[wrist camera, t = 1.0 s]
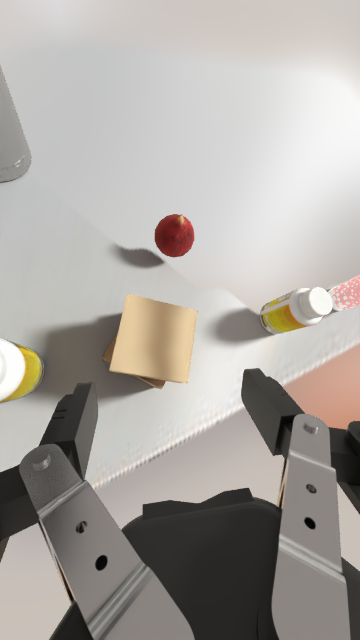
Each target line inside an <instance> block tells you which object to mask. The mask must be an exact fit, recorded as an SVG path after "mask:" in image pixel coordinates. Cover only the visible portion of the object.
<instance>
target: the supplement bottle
mask: <svg viewBox="0 0 360 640" xmlns="http://www.w3.org/2000/svg"><path fill="white" fill-rule="evenodd" d="M331 310H332V299H331V297H330V295H329V293H328V292H327V291H326V290H324V289H322V288H319V287H316V288H312V289H308V288H299V289H296V290H294V291H292V292H290V293H288V294H286V295H284V296H282V297H280V298H277V299H276V300H273V301H271V302H269V303H267V304H265V305H264V306H263V307H262V309H261V312H260V320H261V323H262V325H263V327H264V328H265V329H266V330H267V331H269V332H270V333H273V334H280V333H284V332H288V331H291V330H295V329H299V328H303V327H306V326H310V325H314V324H316V323H318V322H319V321H320V320H321V318H322V316H325V315H327V314H329V313H330V312H331Z"/></svg>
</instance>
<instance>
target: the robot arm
mask: <svg viewBox="0 0 360 640" xmlns="http://www.w3.org/2000/svg"><path fill="white" fill-rule="evenodd" d="M30 164H31V153H30V150H29V147H28V144H27V141H26V138H25V135H24V132H23V129H22V126H21V123H20V120H19V118H18V115H17V112H16V109H15V106H14V104H13V101H12V97H11V95H10V92H9V89H8V86H7V83H6V80H5V78H4V75H3V72H2V69H1V66H0V182H4V181H10V180H13V179H16V178H18V177H20V176H22V175H23V174H24V173H25V172H26V171H27V170H28V168H29V167H30ZM241 397H242V401H243V404H244V406H245V407H246V409H247V411H248V412H249V414H250V416H251V418H252V420H253V421H254V423H255V425H256V427H257V428H258V430H259V432H260V433H261V435H262V437H263V438H264V441H265V442H266V444H267V446H268V448H269V449H270V451H271V453H272V455H273V456H275V455H283V457H284V458H285V459H284V463H283V469H282V476H281V482H280V489H279V495H278V501H277V506H276V505H274V504H272V503H270V502H268V501H266V500H263V499H259V498H256V497H252V494H251V492H250V489H249V488H243V489H237V490H231V491H224V492H222V493H220V494H218V495H216V496H214V497H212V498H210V499H208V500H206V501H204V502H202V503H189V502H180V501H172V500H168V501H162V502H156V503H150V504H143V515H141V516H139V517H137V518H135V519H134V520H132V521H131V522H129V523H128V524H127V525H126V526H125V527H124V528H123V529H122V530H120V528H119V527H118V525H117V524H116V522H115V521H114V519H113V518H112V516H111V515H110V514H109V512H108V510H107V509H106V508H105V506H104V504H103V503H102V502H101V500H100V499H99V497H98V496H97V494H96V493H95V491H94V490H93V488H92V487H91V485H90V484H89V483H88V481H87V480H84V479H85V474H86V469H87V465H88V460H89V456H90V451H91V446H92V442H93V437H94V433H95V428H96V424H97V419H98V404H97V398H96V391H95V385H94V383H93V382H89V383H78V384H77V386H76V388H75V391H74V393H73V394H70V395H66V396H64V397H63V398H62V399H61V400H60V401H59V402H58V404H57V407H56V409H55V412H54V413H53V415H52V418H51V420H50V422H49V424H48V426H47V429H46V431H45V433H44V435H43V437H42V440H41V442H40V444H39V446H38V447H37V448H35V449H33V450H32V451H30V452H29V453H28V454H27V455H26V456H25V457H24V458H23V460H22V461H21V463H20V464H19V465H18V466H15V467H13V468H11V469H8V470H5V471H3V472H0V562H1V559H2V556H3V553H4V551H5V548H6V545H7V542H8V540H9V537H10V536H11V535H13V534H15V533H18V532H20V531H22V530H24V529H26V528H28V527H30V526H32V525H34V524H36V523H38V525H39V527H40V530H41V532H42V534H43V537H44V539H45V541H46V544H47V546H48V548H49V551H50V553H51V556H52V558H53V561H54V563H55V565H56V568H57V570H58V573H59V576H60V578H61V581H62V583H63V586H64V588H65V591H66V593H67V596H68V598H69V600H70V603H71V606H70V608H69V609H68V611H67V612H66V614H65V615H64V617H63V619H62V620H61V622H60V623H59V625H58V627H57V628H56V630H55V631H54V633H53V634H52V636H51V637H50V639H49V640H360V571H358V570H357V569H356V568H355V567H353V566H352V565H351V564H350V563H349V562H347V561H346V560H345V559H343V558H342V557H341V548H340V532H339V514H338V498H337V483H338V484H339V485H340V487H341V488H342V490H343V491H344V492H345V494H346V495H347V497H348V498H349V500H350V501H351V503H352V504H353V506H354V507H355V508H356V510H357V511H358V513H359V514H360V421H353V422H351V423H350V424H349V425H348V428H347V430H344V429H337V428H330V427H328V426H327V425H326V424H325V423H324V422H323V421H322V420H320V419H319V418H317V417H315V416H312V415H309V414H305V413H304V412H303V411H302V410H301V408H300V407H299V406H298V405H297V404H296V402H295V401H294V400H293V399H292V398H291V397H290V396H289V395H288V393H287V392H286V391H285V390H284V389H283V387H282V386H281V385H280V384H279V383H278V382H277V381H276V380H274V379H272V378H271V377H266V376H265V375H264V373H263V372H262V371H261V370H260V369H259V368H256V369H245V370H244V373H243V382H242V390H241Z"/></svg>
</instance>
